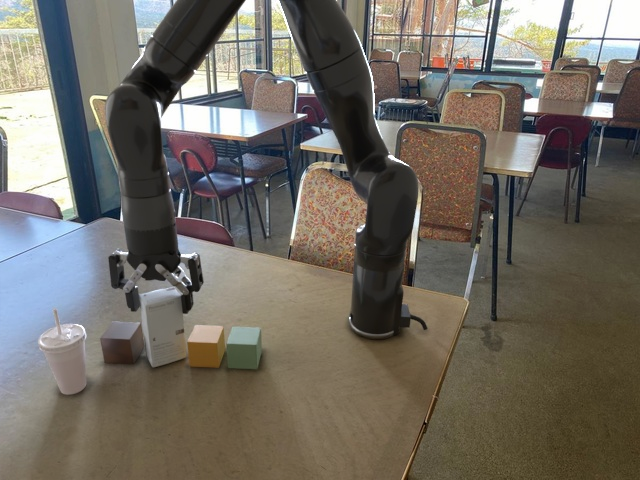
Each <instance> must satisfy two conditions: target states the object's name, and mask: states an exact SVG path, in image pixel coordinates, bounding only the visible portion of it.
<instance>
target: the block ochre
mask: <svg viewBox="0 0 640 480" xmlns="http://www.w3.org/2000/svg"><path fill="white" fill-rule="evenodd" d="M225 339H226V338H225V326H223V325H205V324H204V325H203V324H201V325H200V324H195V325H194V326H193V329H192V331H191V333H190V335H189V337H188V339H187V342H186V344H187V345H186V346H187V355H188V365H189V367H193V368H194V367H197V368H217V369H218V368H220V365H221V363H222V360H223V357H224V354H225V352H226V340H225Z"/></svg>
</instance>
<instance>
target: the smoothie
mask: <svg viewBox="0 0 640 480" xmlns="http://www.w3.org/2000/svg"><path fill="white" fill-rule="evenodd" d="M52 313H53V317H54V318H53V319H54V322H55V323H54V324H55V326H53V327H51V328H49V329H47V330H45V331H44V332H43V333H41V335H40V336H39V337H38V339H37V343H38V348H39V350H40V351H41V352H43V354H44V357H45V358H46V362H47V363H48V366H49V368H50V371H51V372H52V375H53V377H54V379H55V382H56V384H57V386H58V389H59V391H60V394H63V395H65V396H66V395H67V396H69V395H70V396H71V395H74V394H75V395H76V394H78V393H80V392H82V391H83V390H84V389H85V388H86V387H87V368H86V367H87V366H86V344H85V341H86V339H87V333H86V329H85V328H84V326H83V325H80V324H77V323H76V324H75V323H65V324H61V322H60V317H59V313H58V309H57V307H53V308H52Z"/></svg>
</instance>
